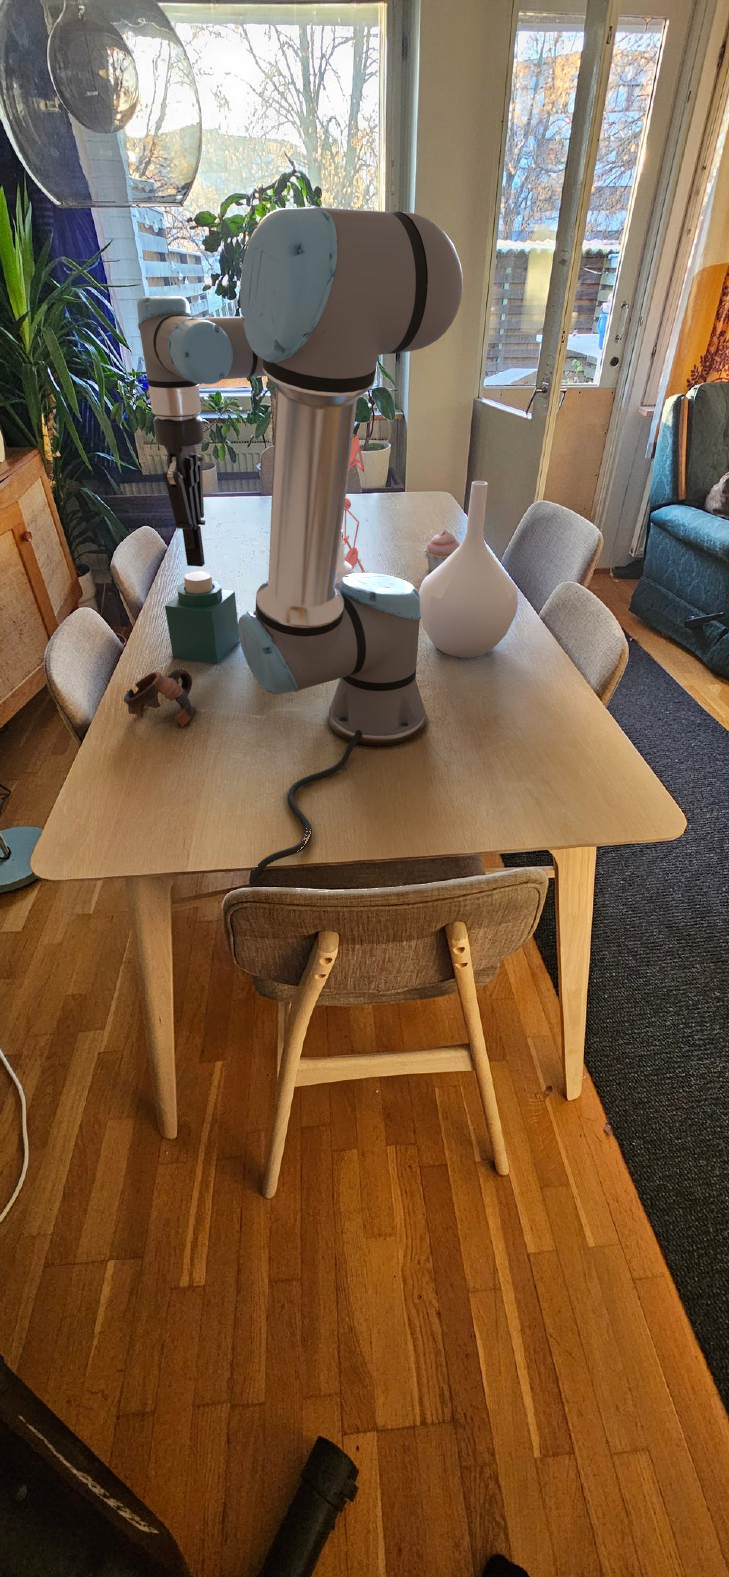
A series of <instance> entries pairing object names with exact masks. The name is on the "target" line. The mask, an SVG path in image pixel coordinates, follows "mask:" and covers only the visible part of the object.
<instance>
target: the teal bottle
mask: <svg viewBox="0 0 729 1577" xmlns="http://www.w3.org/2000/svg"><path fill="white" fill-rule="evenodd" d="M212 585H213V590H212V591H209V592H205V593H188V592H186V588H185V582H182V583H181V584H179V585H178V586H177V587H176V591H177V595H176V596H175V597H173V599H172V600H170V601H169V602H168V603H166V604H165V605H164V610H165V616H166V621H167V627H168V634H169V640H170V647H171V654H172V657H173V658H178V659H184V660H191V661H198V662H204V663H212V664H219V663H220V662H221V661H222V660H223V659H224V658H225V657H226V656H227V655H228V653H230V652H231V651H232V649H234V647H235V646H236V645H238V643H239V642H240V638H239V632H238V622H239V619H238V609H237V600H236V591H235V590H228V589H227V590H226V589H222V585H221V583H220V582H217V581H214V580H212Z"/></svg>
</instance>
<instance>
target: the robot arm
mask: <svg viewBox="0 0 729 1577" xmlns="http://www.w3.org/2000/svg"><path fill="white" fill-rule="evenodd" d="M239 286H240V287H239V289H240V290H239V292H240V293H239V297H240V298H239V305H240V306H239V307H240V314H241V315H242V316H240V315H239V316H205V317H204V316H203V317H202V316H201V317H195V316H192V314H191V309H190V303H189V300H188V299H187V298H185V297H184V296H178V295H176V296H175V295H147V296H146V295H144V296H141V297H140V298H139V299H138V300H137V303H136V306H137V307H136V309H137V319H138V321H137V322H138V323H137V328H138V330H139V334H140V341H141V347H142V355H143V361H144V368H145V374H146V379H147V386H148V390H147V392H146V396H147V397H148V398H149V399H150V406H151V407H150V408H151V413H152V414H153V415H154V418H153V419H152V423H153V430H154V436H155V442H156V443H157V444H158V445H159V446H162V447H163V446H164V447H165V448H166V449H167V451H166V452H167V454H166V456H167V457H166V462H167V463H166V465H167V469H168V470H167V471H166V470H164V471H163V472H162V478H163V481H164V483H165V485H166V489H167V493H168V498H169V501H170V505H171V506H170V507H171V510H172V514H173V518H174V523H175V528H176V529H181V530H182V538H183V543H184V550H185V551H184V552H185V558H186V560H185V561H186V566H188V567H200V568H202V567H204V565H205V564H206V563H205V561H206V560H205V552H204V545H203V536H202V529H201V526H205V525H206V520H205V519H204V518H205V509H204V508H205V507H204V506H205V505H204V483H203V481H204V478H203V466H204V456H203V455H199V454H197V448H196V446H199V445H202V443H203V442H204V441H205V434H204V424H203V418H202V417H201V416H200V414H201V412H202V403H201V395H200V388H199V385H215V384H217V383H219V382H220V381H222V380H233V379H234V380H235V379H246V378H256V377H257V378H258V377H267V378H268V380H269V381H270V382H271V383H272V384H273V386H274V387H275V409H274V410H275V411H274V413H275V414H274V434H273V436H274V437H273V439H274V440H273V459H272V460H273V463H272V480H271V481H272V483H271V484H272V486H271V509H270V529H269V530H270V531H269V532H270V535H269V556H268V579H267V580H266V581H265V582H263V583H262V584H261V585H260V586H259V587H258V588H257V591H256V595H255V609H254V610H255V611H246V612H245V613H244V614H242V615H241V616H240V617H239V619H238V632H239V639H240V641H239V642H240V647H241V650H242V652H243V655H244V656H243V657H244V658H245V661H246V663H247V665H248V668H249V670H250V671H251V673H252V675H253V677H254V678H255V680H256V682H257V683H258V684H259V686H260V687H261V688H262V689H263V690H264V691H266V692H267V693H269V694H271V695H274V696H275V695H276V696H278V695H284V694H288V693H289V694H290V693H297V692H300V691H301V690H305V689H308V688H312V687H315V686H319V685H323V684H325V683H329V682H332V681H335V680H339V681H338V684H337V686H336V689H335V692H334V695H333V698H332V701H331V703H330V705H329V706H330V707H329V712H328V713H329V725H330V728H331V729H332V730H333V731H334V732H335V733H336V734H337V735H338V736H340V737H341V738H343V739H345V740H347V741H349V743H348V744H347V746H346V748H345V750H344V751H345V752H344V753H343V755H342V757H341V759H340V760H339V761H338V762H337V763H335V764H334V765H332V766H331V767H329V768H327V769H324V770H322V771H318V772H315V773H313V774H310V775H308V776H305V777H302V778H301V779H299V780H297V781H296V782H294V784H292V785H291V786H290V788H289V790H288V792H287V798H286V800H287V804H288V807H289V808H290V810H291V811H292V813H293V814H294V815H295V817H296V818H297V820H298V821H299V822H300V824H301V825H302V828H303V830H304V836H303V838H302V840H303V839H304V837H305V838H307V837H308V835H309V834H310V832H309V831H311V834H310V837H309V839H308V841H307V843H306V844H305V841H306V839H305V840H303V841H302V840H301V841H300V842H301V843H300V842H299V843H297V844H296V845H294V846H292V847H288V848H285V849H282V850H279V851H276V852H274V853H271V854H269V855H267V856H266V857H265V858H263V859H262V860H261V861H259V863H258V864H257V865H256V866H258V867H256V866H255V867H254V869H253V870H252V872H251V874H250V877H249V879H248V881H249V883H255V882H256V881H258V878H259V877H260V875H261V873H262V872H263V871H264V870H265V868H266V867H268V866H269V865H271V864H272V863H274V862H276V861H278V860H281V859H284V858H287V857H290V856H294V855H295V854H298V853H300V852H302V851H303V850H304V849H306V848H307V847H308V845H309V844H310V842H311V840H312V837H313V836H312V835H313V829H312V827H311V824H310V822H309V820H308V818H307V817H306V816H305V815H304V813H303V812H302V811H301V809H300V808H299V807H298V805H297V803H296V800H295V795H296V793H297V791H298V790H299V789H301V787H303V786H305V785H306V784H309V783H312V782H315V781H318V780H320V779H324V778H326V777H329V776H331V775H333V774H335V773H337V772H338V771H339V770H340V769H342V768H343V767H344V766H345V765H346V764H347V763H348V761H349V759H350V757H351V755H352V753H353V750H354V749H355V747H356V746H357V744H358V745H364V746H371V747H385V746H394V745H399V744H403V743H405V742H408V741H410V740H412V739H414V738H416V737H417V736H418V735H419V734H421V732H422V731H423V729H424V727H425V722H426V720H425V719H426V708H425V706H424V702H423V699H422V694H421V692H420V688H419V685H418V682H417V666H418V649H419V635H420V622H421V614H420V595H419V590H418V589H417V587H416V586H414V585H413V584H412V583H411V582H408V581H406V580H405V579H401V578H399V577H396V576H392V575H388V574H383V573H375V572H365V573H363V572H355V573H352V574H349V575H346V576H345V577H344V578H342V579H341V581H340V585H339V590H340V592H339V591H338V590H337V589H336V588H335V582H336V574H337V565H338V557H339V549H340V540H341V532H342V530H343V523H344V522H343V521H344V516H345V510H344V507H345V499H346V498H347V491H348V490H347V489H348V482H349V481H348V480H349V472H350V469H349V465H350V457H351V448H352V440H353V439H354V432H355V431H354V430H355V423H356V413H357V406H358V400H359V399H360V398H361V397H362V396H363V395H365V394H366V393H367V392H368V391H370V390H371V389H372V388H373V386H374V384H375V379H376V371H377V366H378V365H377V364H378V359H379V358H378V357H379V356H381V355H393V354H401V353H402V354H404V353H409V352H414V351H418V350H421V349H424V348H426V347H428V346H430V345H432V344H433V343H435V342H437V341H438V340H439V339H440V338H441V337H442V336H444V335H445V334H446V332H448V330H449V329H450V327H451V326H452V324H453V323H454V321H455V318H456V316H457V314H458V312H459V308H460V306H461V302H462V296H463V288H464V287H463V286H464V276H463V269H462V264H461V261H460V258H459V254H458V252H457V249H456V248H455V245H454V243H453V241H452V240H451V239H450V237H449V236H448V234H447V233H446V232H445V231H444V230H443V229H442V228H441V227H440V226H439V225H437V224H436V223H435V222H433V220H431V219H429V218H427V217H425V216H423V215H420V214H417V213H414V212H408V211H382V210H369V209H366V210H365V209H354V208H353V209H352V208H341V207H326V206H316V205H314V204H310V205H307V206H304V207H291V208H290V207H289V208H286V207H285V208H278V209H275V210H272V211H270V212H269V213H267V214H266V215H265V216H264V217H263V218H262V219H261V220H260V221H259V223H258V225H257V227H256V228H255V229H254V230H253V232H252V233H251V236H250V238H249V241H248V243H247V247H246V250H245V253H244V257H243V262H242V268H241V276H240V285H239ZM203 519H204V520H203ZM306 828H307V829H306ZM310 829H311V830H310ZM306 831H308V832H306ZM305 834H306V835H307V836H305ZM304 844H305V845H304ZM303 846H304V847H303ZM301 847H303V848H302V849H301ZM300 849H301V850H300ZM298 850H299V851H298ZM297 851H298V852H297Z"/></svg>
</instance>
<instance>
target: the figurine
mask: <svg viewBox="0 0 729 1577" xmlns="http://www.w3.org/2000/svg"><path fill="white" fill-rule="evenodd" d="M359 439H360V437H359V436H358V435H355V436H354V437H353V440H352V448H351V457H350V465H349V470H350V469H351V468H353V467H355V466H357V467H358V469H360V471H361V472H362V473H365V466H364V460H363V456H362V450H361V446H360V445H361V443H360V442H361V441H360V440H359ZM357 456H358V458H359V459H358V458H357ZM351 506H352V502H351V500H350V499H349V498H348V497H346V499H345V507H344V534H343V539H344V547H345V546H346V545H347V548H348V549H349V550H348V552H347V553H346V554H345V561H346V562H348V563H349V564H350V565H351V566H352V570H353V569H354V568H355V566H356V564H357V565H358V566H359V568H360V570H361V573H366V570H365V569H364V567H363V565H362V563H361V561H360V558H359V550H358V548H357V547H356V541H357V537H358V532H359V526H360V521H359V520H358V519H357V518H356V516H354V514H353V513H352V512H351V511H350V508H351ZM347 513H348V514H349V515H350V516H351V517H352V518H353V519H354V520H355V522H356V530H355V533H354V534H355V535H354V540H353V546H351V544H350V542H349V538H350V535H347Z"/></svg>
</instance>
